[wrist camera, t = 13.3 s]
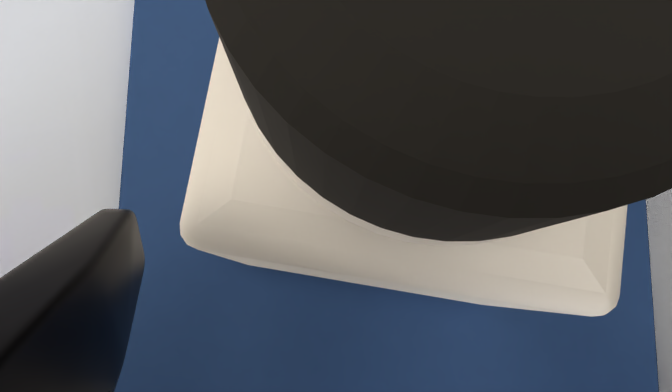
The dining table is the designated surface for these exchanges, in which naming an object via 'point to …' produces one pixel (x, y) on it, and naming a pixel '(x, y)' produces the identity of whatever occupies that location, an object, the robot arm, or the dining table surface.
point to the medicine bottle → (435, 143)
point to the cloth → (326, 282)
